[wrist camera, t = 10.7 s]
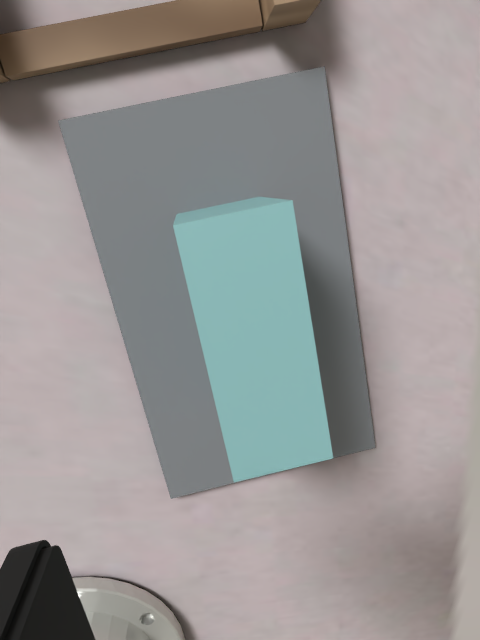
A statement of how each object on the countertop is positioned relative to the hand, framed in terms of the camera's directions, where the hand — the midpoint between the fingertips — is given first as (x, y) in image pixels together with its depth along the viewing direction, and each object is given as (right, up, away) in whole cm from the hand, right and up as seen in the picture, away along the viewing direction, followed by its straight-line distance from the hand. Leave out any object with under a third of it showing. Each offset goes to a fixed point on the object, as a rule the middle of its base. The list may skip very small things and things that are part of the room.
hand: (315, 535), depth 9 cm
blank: (-1, +5, +14) cm, 15 cm away
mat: (-2, +5, +15) cm, 16 cm away
